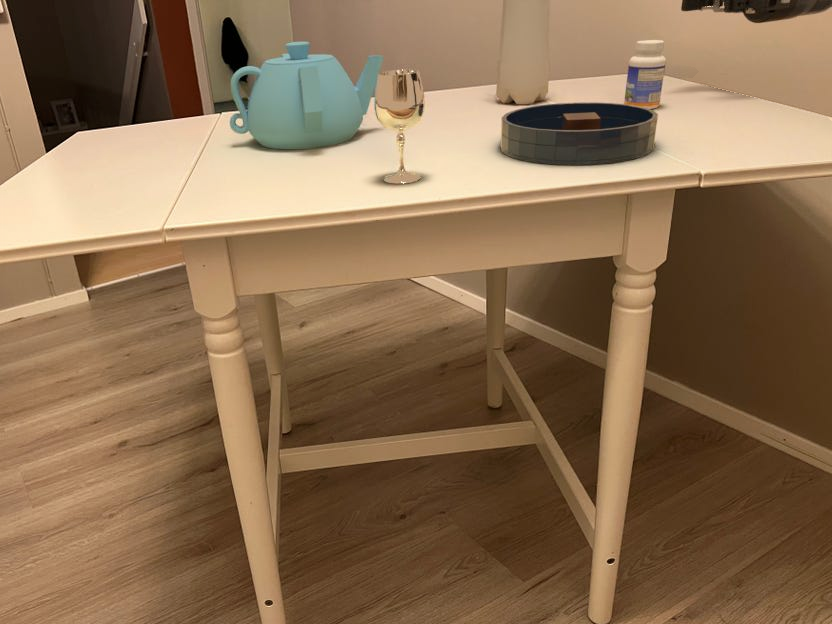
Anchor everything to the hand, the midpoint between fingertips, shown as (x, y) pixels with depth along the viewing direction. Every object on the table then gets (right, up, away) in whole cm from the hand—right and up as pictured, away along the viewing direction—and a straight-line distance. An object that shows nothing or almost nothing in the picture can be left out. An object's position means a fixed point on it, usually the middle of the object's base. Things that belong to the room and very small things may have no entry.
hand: (704, 4), depth 110 cm
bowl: (-26, -27, -17) cm, 41 cm away
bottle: (-25, -10, +16) cm, 31 cm away
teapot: (-61, -21, 0) cm, 65 cm away
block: (-26, -28, -20) cm, 43 cm away
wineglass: (-49, -34, -25) cm, 65 cm away
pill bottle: (-8, -15, +4) cm, 18 cm away
